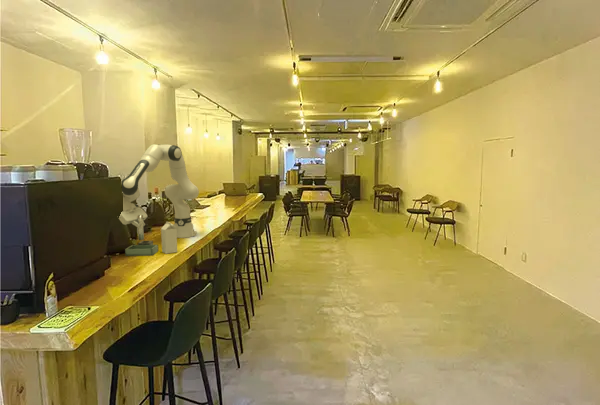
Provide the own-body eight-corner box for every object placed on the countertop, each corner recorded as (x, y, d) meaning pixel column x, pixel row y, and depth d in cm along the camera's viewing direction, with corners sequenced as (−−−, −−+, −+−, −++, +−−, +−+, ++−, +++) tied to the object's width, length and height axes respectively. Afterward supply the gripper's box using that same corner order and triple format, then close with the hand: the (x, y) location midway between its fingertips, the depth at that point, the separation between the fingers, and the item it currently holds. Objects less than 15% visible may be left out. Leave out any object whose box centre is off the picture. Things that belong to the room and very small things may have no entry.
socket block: (142, 248, 240) (141, 240, 240) (153, 248, 241) (152, 240, 240) (138, 251, 233) (137, 243, 233) (149, 250, 234) (149, 243, 233)
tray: (132, 251, 233) (131, 245, 232) (158, 250, 234) (157, 244, 233) (125, 255, 222) (124, 249, 221) (152, 255, 223) (152, 249, 222)
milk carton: (166, 254, 226) (164, 223, 224) (162, 251, 232) (160, 222, 229) (177, 252, 231) (176, 222, 228) (173, 250, 236) (172, 220, 234)
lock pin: (139, 239, 228) (138, 215, 226) (144, 239, 228) (143, 215, 226) (137, 240, 225) (136, 215, 223) (142, 240, 225) (141, 215, 223)
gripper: (117, 208, 216) (133, 225, 214) (140, 204, 235) (154, 220, 234) (111, 215, 217) (127, 232, 216) (134, 211, 237) (148, 226, 236)
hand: (141, 226), depth 225 cm, fingers closed on lock pin, 3 cm apart
